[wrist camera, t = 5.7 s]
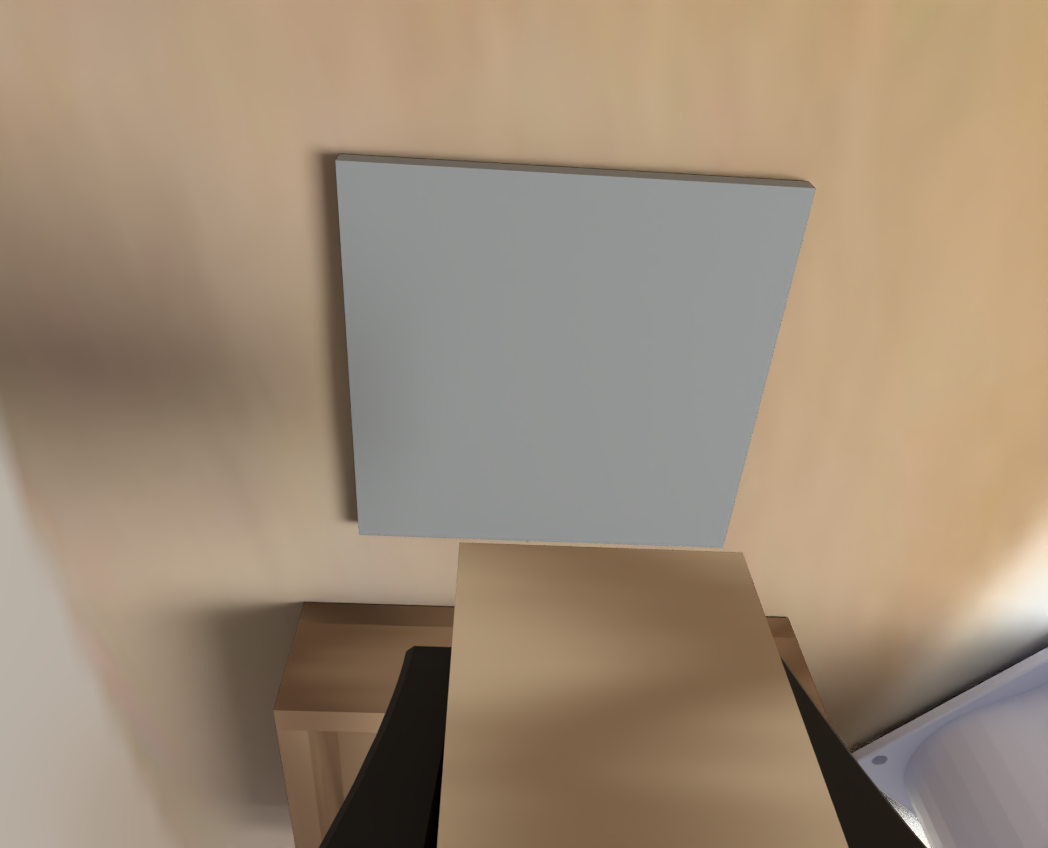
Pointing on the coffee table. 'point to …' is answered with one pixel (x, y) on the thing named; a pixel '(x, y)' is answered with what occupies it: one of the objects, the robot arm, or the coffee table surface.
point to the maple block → (622, 707)
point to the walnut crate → (371, 696)
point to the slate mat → (558, 345)
